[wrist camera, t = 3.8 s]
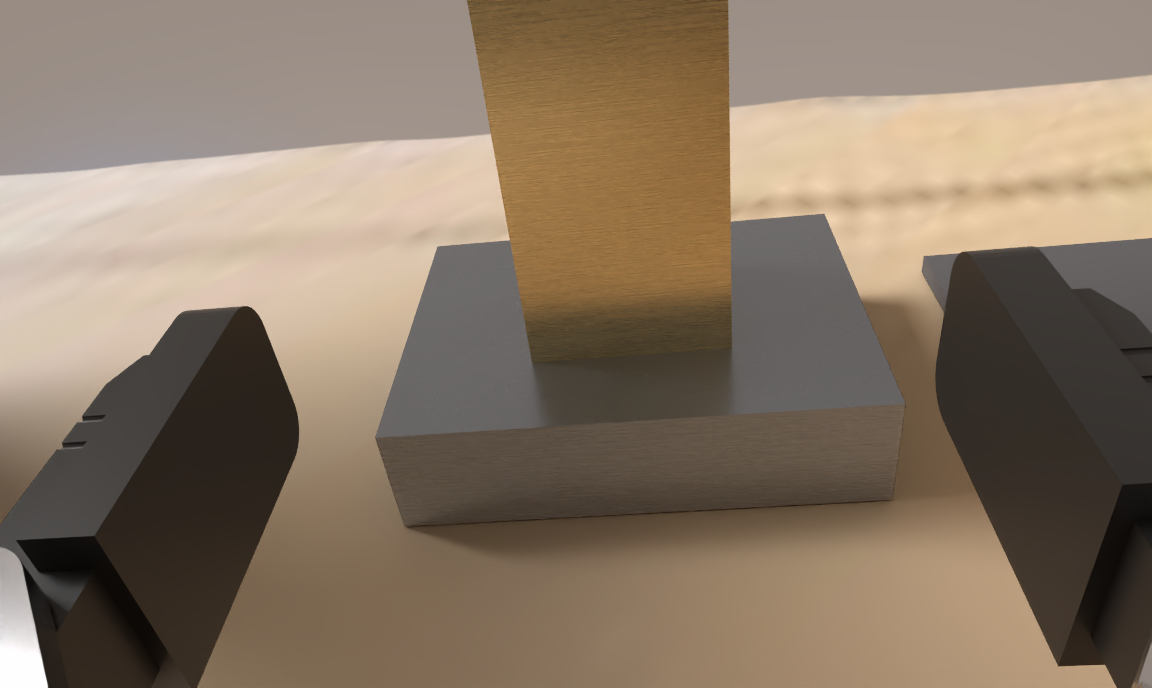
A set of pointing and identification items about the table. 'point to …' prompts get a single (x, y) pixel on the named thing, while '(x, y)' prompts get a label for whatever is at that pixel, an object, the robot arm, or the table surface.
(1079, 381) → the robot arm
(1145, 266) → the flat gray metal plate
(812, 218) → the grey metal rectangular block
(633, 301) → the tall wooden pillar
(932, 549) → the table surface
